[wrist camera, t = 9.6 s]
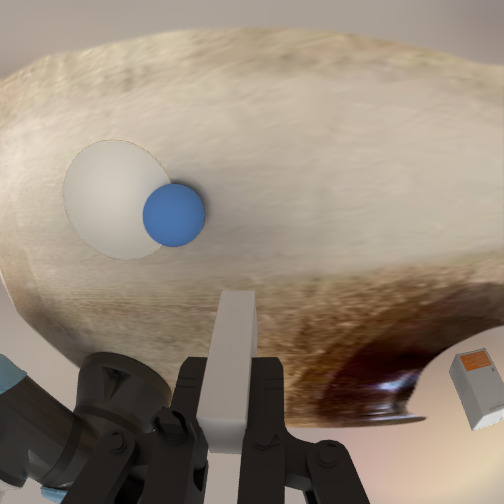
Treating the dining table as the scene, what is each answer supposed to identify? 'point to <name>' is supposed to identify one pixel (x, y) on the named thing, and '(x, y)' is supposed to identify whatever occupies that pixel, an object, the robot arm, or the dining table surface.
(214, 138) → the dining table surface
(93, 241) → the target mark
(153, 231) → the ball
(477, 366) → the skincare box
